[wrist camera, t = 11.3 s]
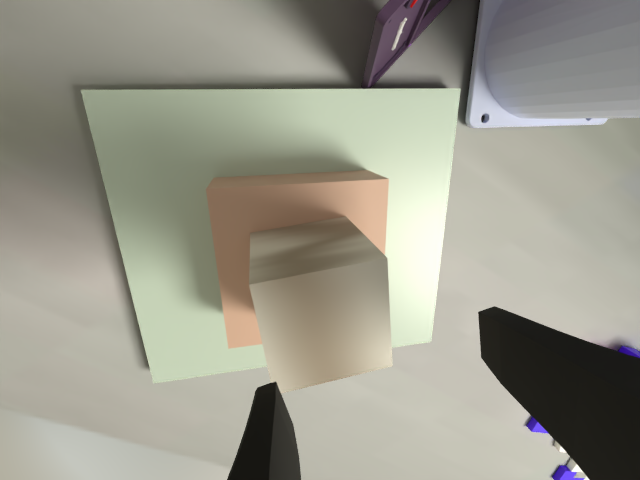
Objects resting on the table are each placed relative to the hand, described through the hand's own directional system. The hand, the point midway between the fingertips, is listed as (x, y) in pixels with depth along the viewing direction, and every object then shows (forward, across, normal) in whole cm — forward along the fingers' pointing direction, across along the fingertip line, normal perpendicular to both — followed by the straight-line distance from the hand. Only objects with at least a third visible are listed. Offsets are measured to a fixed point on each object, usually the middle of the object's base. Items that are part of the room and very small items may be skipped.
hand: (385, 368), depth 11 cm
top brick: (+6, +2, -2) cm, 6 cm away
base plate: (+10, +2, -2) cm, 10 cm away
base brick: (+9, +2, -2) cm, 9 cm away
